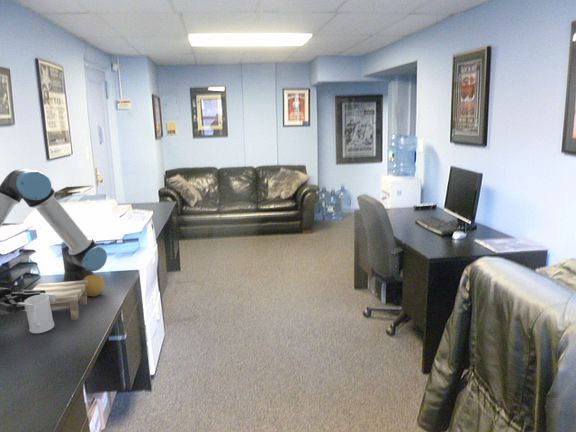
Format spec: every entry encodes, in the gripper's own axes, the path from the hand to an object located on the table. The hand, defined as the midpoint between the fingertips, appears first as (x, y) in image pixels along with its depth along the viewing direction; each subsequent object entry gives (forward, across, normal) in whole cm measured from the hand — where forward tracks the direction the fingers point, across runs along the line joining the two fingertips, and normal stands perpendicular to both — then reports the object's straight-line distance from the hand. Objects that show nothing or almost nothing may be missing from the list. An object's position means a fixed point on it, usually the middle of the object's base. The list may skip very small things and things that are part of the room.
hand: (43, 302), depth 172 cm
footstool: (-11, -17, -12) cm, 23 cm away
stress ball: (-10, -37, -13) cm, 40 cm away
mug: (-3, 0, -11) cm, 12 cm away
